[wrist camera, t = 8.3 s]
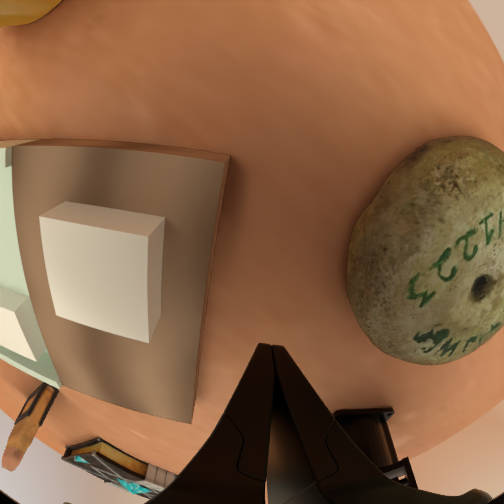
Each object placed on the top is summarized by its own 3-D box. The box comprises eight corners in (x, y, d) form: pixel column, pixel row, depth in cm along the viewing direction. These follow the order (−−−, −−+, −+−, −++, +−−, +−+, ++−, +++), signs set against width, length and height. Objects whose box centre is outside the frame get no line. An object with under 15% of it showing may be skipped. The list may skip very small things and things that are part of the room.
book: (66, 444, 31) (58, 465, 27) (97, 431, 26) (86, 461, 22) (164, 491, 38) (161, 510, 33) (220, 485, 33) (218, 510, 28)
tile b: (165, 217, 11) (148, 236, 9) (160, 315, 13) (148, 343, 11) (65, 201, 10) (39, 216, 9) (74, 292, 13) (56, 315, 11)
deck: (230, 155, 12) (224, 162, 10) (195, 398, 20) (191, 423, 18) (41, 139, 11) (11, 146, 9) (73, 364, 19) (62, 385, 17)
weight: (345, 353, 18) (363, 411, 13) (322, 148, 12) (359, 163, 8) (491, 302, 16) (523, 339, 12) (508, 132, 11) (563, 147, 6)
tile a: (28, 296, 15) (14, 312, 13) (47, 346, 17) (37, 362, 16) (-8, 284, 15) (-21, 297, 13) (11, 331, 17) (0, 344, 15)
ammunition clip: (46, 379, 21) (3, 465, 10) (59, 390, 21) (19, 477, 11) (28, 397, 24) (-4, 462, 13) (38, 406, 24) (8, 471, 14)
